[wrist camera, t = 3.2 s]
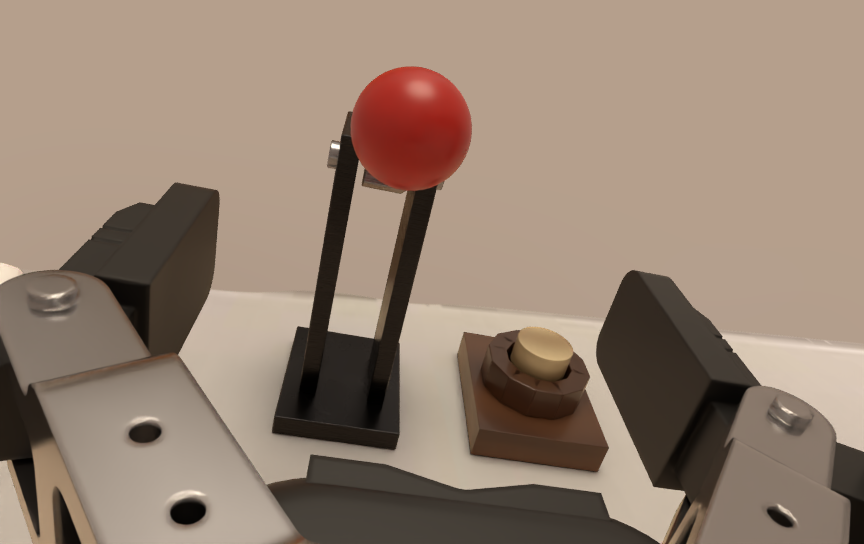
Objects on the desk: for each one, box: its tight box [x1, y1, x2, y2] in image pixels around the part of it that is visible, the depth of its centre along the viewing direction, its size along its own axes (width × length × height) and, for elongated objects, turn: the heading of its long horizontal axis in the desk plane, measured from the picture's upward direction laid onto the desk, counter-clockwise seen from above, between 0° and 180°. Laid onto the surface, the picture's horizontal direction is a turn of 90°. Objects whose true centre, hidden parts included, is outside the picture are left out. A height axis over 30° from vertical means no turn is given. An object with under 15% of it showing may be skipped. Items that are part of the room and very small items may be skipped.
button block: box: [457, 330, 609, 472], centre depth 41 cm, size 10×8×4 cm
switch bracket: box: [272, 112, 444, 449], centre depth 36 cm, size 9×7×17 cm
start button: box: [510, 327, 573, 382], centre depth 40 cm, size 4×4×2 cm
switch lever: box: [351, 67, 472, 194], centre depth 27 cm, size 15×4×4 cm, turn 3°
